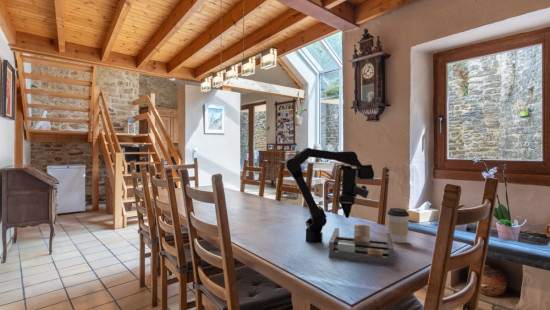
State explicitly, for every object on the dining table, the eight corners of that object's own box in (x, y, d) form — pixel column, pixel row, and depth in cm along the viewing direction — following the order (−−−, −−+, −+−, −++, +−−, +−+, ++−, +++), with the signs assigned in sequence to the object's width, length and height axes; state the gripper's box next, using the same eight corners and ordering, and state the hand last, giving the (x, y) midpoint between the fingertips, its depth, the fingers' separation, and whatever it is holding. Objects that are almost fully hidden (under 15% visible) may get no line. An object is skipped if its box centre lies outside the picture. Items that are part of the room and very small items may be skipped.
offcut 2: (367, 260, 106) (367, 249, 106) (367, 258, 108) (367, 247, 107) (382, 262, 104) (382, 251, 104) (382, 260, 106) (382, 249, 106)
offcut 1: (337, 257, 109) (337, 243, 109) (338, 255, 111) (338, 242, 111) (354, 259, 107) (354, 245, 107) (354, 257, 109) (355, 243, 109)
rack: (328, 260, 108) (329, 241, 108) (335, 244, 127) (335, 228, 127) (393, 268, 101) (393, 248, 101) (389, 250, 120) (390, 233, 120)
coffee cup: (407, 240, 133) (407, 207, 133) (410, 246, 125) (411, 211, 124) (385, 238, 136) (386, 206, 136) (387, 244, 127) (388, 210, 127)
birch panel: (354, 246, 121) (354, 225, 120) (354, 245, 122) (354, 223, 122) (369, 248, 119) (369, 226, 119) (369, 247, 121) (369, 225, 120)
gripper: (367, 183, 117) (367, 222, 117) (368, 178, 135) (367, 212, 135) (339, 181, 121) (338, 219, 121) (343, 177, 138) (343, 210, 139)
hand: (348, 215), depth 129 cm, fingers open, 9 cm apart
